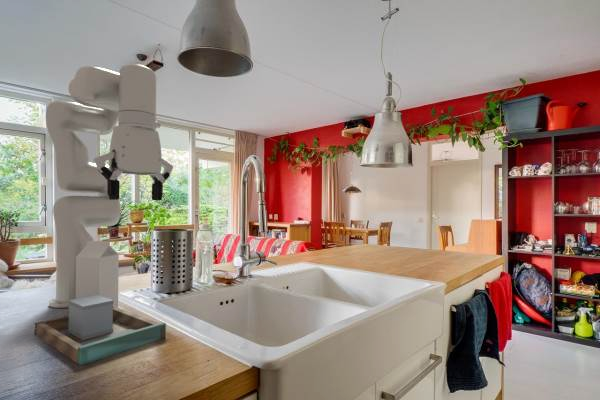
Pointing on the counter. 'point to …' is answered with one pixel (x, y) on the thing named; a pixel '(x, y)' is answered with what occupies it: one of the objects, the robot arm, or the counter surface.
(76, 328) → the grey block
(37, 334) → the bay
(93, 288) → the milk carton
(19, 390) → the counter surface
